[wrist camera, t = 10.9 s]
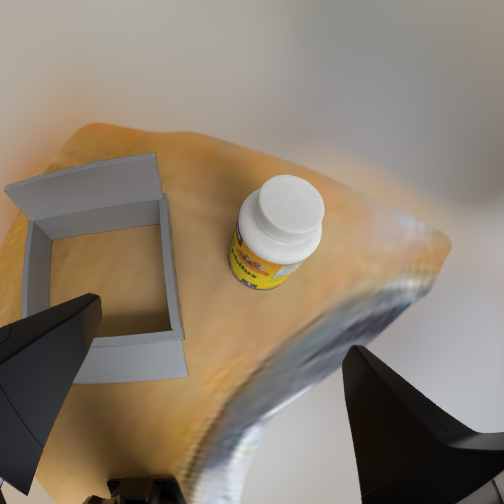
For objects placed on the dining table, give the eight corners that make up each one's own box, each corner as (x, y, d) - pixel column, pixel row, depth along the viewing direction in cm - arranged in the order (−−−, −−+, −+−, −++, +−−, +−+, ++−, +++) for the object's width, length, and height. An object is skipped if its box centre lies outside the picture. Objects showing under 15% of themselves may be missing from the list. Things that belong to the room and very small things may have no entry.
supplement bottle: (218, 245, 25) (229, 173, 15) (273, 227, 26) (309, 156, 17) (242, 302, 23) (270, 260, 14) (298, 280, 25) (353, 229, 15)
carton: (191, 375, 20) (184, 386, 12) (51, 382, 17) (-11, 384, 9) (170, 216, 25) (160, 151, 17) (48, 235, 22) (3, 185, 14)
